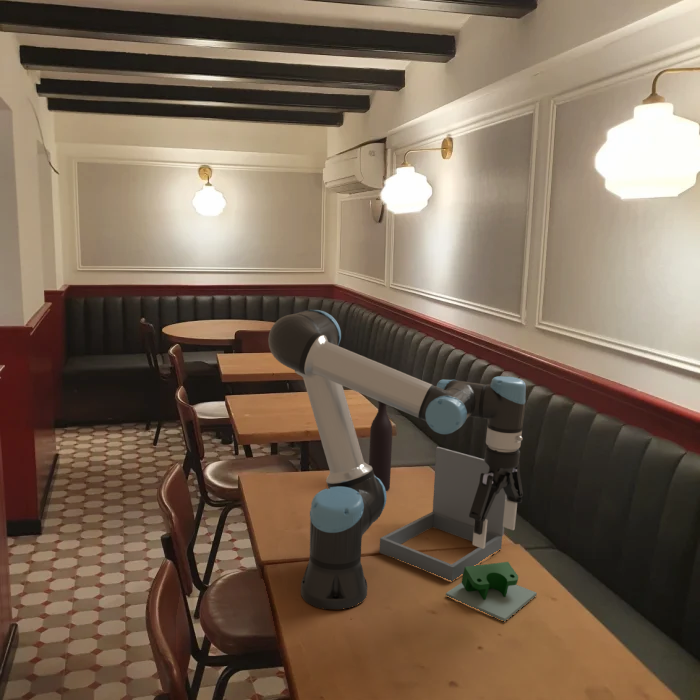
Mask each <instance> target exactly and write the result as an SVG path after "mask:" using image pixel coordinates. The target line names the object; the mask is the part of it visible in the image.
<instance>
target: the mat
mask: <svg viewBox="0 0 700 700" xmlns="http://www.w3.org/2000/svg"><path fill="white" fill-rule="evenodd" d="M446 595H447V596H449V597H451V598H454V599H456V600H458V601H461V602H462V603H465V604H467V605H469V606H471V607H474V608H476V609H479V610H480V611H483V612H485V613H487V614H489V615H491V616H493V617H496V618H498V619H500V620H503V621H506V620H507V619H509V618H510V617H511V616H512V615H513V614H515V613H516V612H517V611H518V610H520V609H521V608H522V607H523V606H524V605H526V604H527V603H528V602H529V601H530V600H531V599H533V598H534V597H535V596H536V597H537V592H536V591H533V590H530V589H528V588H527V587H523V586H520V585H518V584H516V585H512V586H508V590H507V594H506V597H503V595H502V593H501V592H500V591H498V590H496V589H488V593H487V597H486V600H483V598H482V596H481V595H480V593H479V591H478V590H477V591H466V589H465V588H464V586H463V584H462V582H460V583H458V584H457V585H455V586H454V587H453V588H451V589H449V590H448V591H447V592H445V596H446ZM536 597H535V598H536ZM535 598H534V599H535ZM534 599H533V600H534ZM529 603H530V602H529ZM529 603H528V604H529ZM528 604H527V605H528ZM527 605H526V606H527ZM523 608H524V607H523ZM523 608H522V609H523ZM522 609H521V610H522ZM521 610H520V611H521ZM517 613H518V612H517ZM517 613H516V614H517ZM516 614H515V615H516ZM511 618H512V617H511ZM511 618H510V619H511ZM510 619H509V620H510Z"/></svg>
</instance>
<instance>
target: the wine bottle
mask: <svg viewBox="0 0 700 700" xmlns="http://www.w3.org/2000/svg"><path fill="white" fill-rule="evenodd" d="M377 403H378V409H377V413H376V415H375V417H374V418H373V420H372V422H371V425H370V432H369V454H368V455H369V456H368V465H370V466H371V467H372V469H373V472H374V475H375V476H376V477H377V478H379V479H380V480H381V482H382V483H383V485H384V487H385V490H386V492H388V491H389V490H390V488H391V468H392V452H393V451H392V448H393V425H392V421H391V420H390V417H389V415H388V413H387V412H388V411H387V404H385V403H382V402H380V401H378V400H377Z"/></svg>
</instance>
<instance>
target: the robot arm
mask: <svg viewBox="0 0 700 700" xmlns="http://www.w3.org/2000/svg"><path fill="white" fill-rule="evenodd" d="M341 339H342V331H341V328H340V325H339V323H338V322H337V320H336V319H335V318H334V317H333V315H331V314H329V313H328V312H326V311H325V310H319V309H308V310H304V311H300V312H297V313H293V314H288V315H285V316H282V317H280V318H279V319H278V320H276V322H274V324H273V325H272V326H271V328H270V331H269V334H268V339H267V340H268V347H269V350H270V353H271V355H272V356H273V357H274V358H275V360H277V362H278V363H280V364H282V365H283V366H286V367H287V368H289V369H291V370H294V373H295V374H297V375H299V376H301V377H302V379H303V382H304V386H305V390H306V392H307V396H308V400H309V404H310V406H311V409H312V413H313V417H314V420H315V423H316V428H317V431H318V434H319V437H320V441H321V446H322V448H323V452H324V456H325V458H326V459H325V460H326V462H327V465H328V468H329V474H328V476H327V477H326V480H325V482H326V485H327V487H328V488H324V489H321V490H320V491H318V492H317V493H316V494H315V495H314V497H312V500H311V505H310V510H309V527H310V528H309V559H308V563H307V565H306V568H305V572H304V574H303V577H302V578H301V583H300V595H301V597H302V598H303V600H304V601H305V602H306V603H307V604H309V605H310V604H311V605H310V606H312V605H313V606H312V607H315V608H318V607H319V609H321V608H324V609H323V610H326V609H343V608H349V607H352V606H355V605H357V604H358V603H360V602H362V601H363V600H364V599H365V598H366V599H367V597H366V596H368V582H367V579H366V577H365V575H364V570H363V565H362V562H361V561H362V560H361V559H362V541H363V540H362V538H363V536H364V535H365V533H366V532H367V531H368V530H369V528H370V527H371V526H372V525H373V524H374V523H375V522H376V521H377V520H378V519H379V518H380V517H381V515H382V514H383V512H384V509H385V507H386V504H387V491H386V490H385V487H384V485H383V483H382V482H381V480H380V479H379V478H377V477H376V476H375V475H374V472H373V469H372V467H371V466H370V465H369V463H366V462H365V460H364V456H363V454H362V450H361V447H360V444H359V439H358V435H357V431H356V429H355V426H354V422H353V419H352V416H351V411H350V408H349V405H348V404H349V403H348V400H347V397H346V394H345V390H344V387H346V388H348V389H350V390H352V391H354V392H357V393H359V394H362V395H364V396H367V397H369V398H371V399H373V400H375V401H377V402H378V401H380V402H382V403H385V404H386V406H387V405H388V406H390V407H392V408H395V409H397V410H399V411H402V412H404V413H406V414H409V415H411V416H413V417H416V418H418V419H421V420H423V421H425V422H426V424H427V425H428V427H429V428H430V429H431V430H432V431H433V432H435V433H437V434H440V435H449V434H453V433H454V432H456V431H457V430H459V429H460V428H461V427H463V425H464V424H465V423H466V420H467V419H468V418H469V417H471V418H478V419H485V420H487V427H486V428H487V429H486V436H485V437H486V438H485V444H486V446H485V448H484V458H483V459H484V461H485V463H486V464H488V466H489V471H488V474H484V473H481V475H480V481H479V486H478V489H477V492H476V495H475V498H474V501H473V504H472V507H471V511H470V514H469V517H470V518H473V519H475V522H474V533H473V542H472V546H475V547H477V548H482V549H484V548H485V543H486V532H487V522H488V520H487V519H486V517H487V514H488V512H489V510H490V507H491V505H492V503H493V501H494V498H495V496H496V494H499V492H500V490H501V489H502V488H503V489H504V491H505V494H506V496H507V500H505V507H504V517H503V527H504V529H508V530H511V531H514V530H515V527H516V519H517V510H518V509H517V508H518V503H519V504H522V502H523V498H522V497H523V496H524V490H523V485H522V478H521V472H520V467H521V464H520V463H521V462H520V456H521V450H520V448H521V444H522V441H523V437H522V433H523V427H524V425H523V424H524V419H525V418H524V417H525V410H526V408H525V407H526V401H527V400H526V397H527V396H526V393H527V392H526V391H527V386H526V383H525V381H524V380H523V379H521V378H518V377H515V376H514V377H513V376H503V375H500V376H494V377H493V378H492V379H491V382H490V383H489V384H488V383H487V384H484V383H477V382H469V381H462V380H456V379H440V380H439V381H438V382H437V384H436V385H433V384H432V383H430V382H427V381H424V380H421V379H419V378H417V377H414V376H412V375H411V374H407V373H405V372H402V371H400V370H397V369H395V368H393V367H390V366H388V365H386V364H384V363H380V362H378V361H376V360H373V359H370V358H368V357H366V356H364V355H360V354H358V353H356V352H354V351H351V350H349V349H346V348H344V347H341V346H339V345H340V342H341ZM366 599H365V600H366ZM365 600H364V601H365ZM364 601H363V602H364ZM363 602H362V603H363ZM357 606H358V605H357ZM355 607H356V606H355ZM349 609H350V608H349Z"/></svg>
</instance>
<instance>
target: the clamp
mask: <svg viewBox="0 0 700 700" xmlns="http://www.w3.org/2000/svg"><path fill="white" fill-rule="evenodd" d="M518 580H519V575H518V574H517V572H516V571H515V569H514V568H513V566H512V565H511V563H510V562H509V561H504V562H495V563H487V564H480V565H476V566H467V567H465V568H464V573H463V576H462V577H461V583H462V584H463V586H464V588H465V589H466V591H477V590H478V591H479V593H480V595H481V596H482V598H483V600H486V597H487V593H488V589H496V590H498V591H500V592H501V593H502V595H503V597H506V594H507V590H508V586H512V585H518Z"/></svg>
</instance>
